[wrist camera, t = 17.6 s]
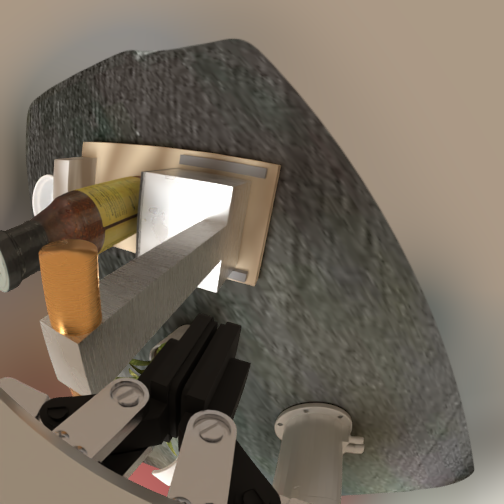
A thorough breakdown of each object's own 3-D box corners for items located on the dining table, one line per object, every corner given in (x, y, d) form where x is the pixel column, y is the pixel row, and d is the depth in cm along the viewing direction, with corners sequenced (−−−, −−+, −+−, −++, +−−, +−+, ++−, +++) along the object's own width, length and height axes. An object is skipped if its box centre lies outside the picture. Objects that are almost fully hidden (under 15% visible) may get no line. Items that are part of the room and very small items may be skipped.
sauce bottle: (122, 172, 30) (-28, 204, 12) (166, 177, 29) (5, 216, 11) (120, 225, 32) (-15, 288, 14) (162, 234, 31) (23, 317, 13)
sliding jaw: (251, 180, 27) (64, 253, 6) (236, 265, 30) (108, 440, 9) (176, 167, 28) (-35, 208, 7) (167, 247, 31) (3, 362, 10)
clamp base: (280, 165, 28) (271, 166, 22) (257, 278, 33) (243, 308, 26) (93, 141, 32) (56, 143, 25) (88, 231, 36) (54, 245, 30)
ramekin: (73, 160, 34) (52, 162, 29) (94, 213, 35) (73, 220, 31) (46, 189, 36) (26, 194, 32) (64, 237, 38) (45, 245, 34)
